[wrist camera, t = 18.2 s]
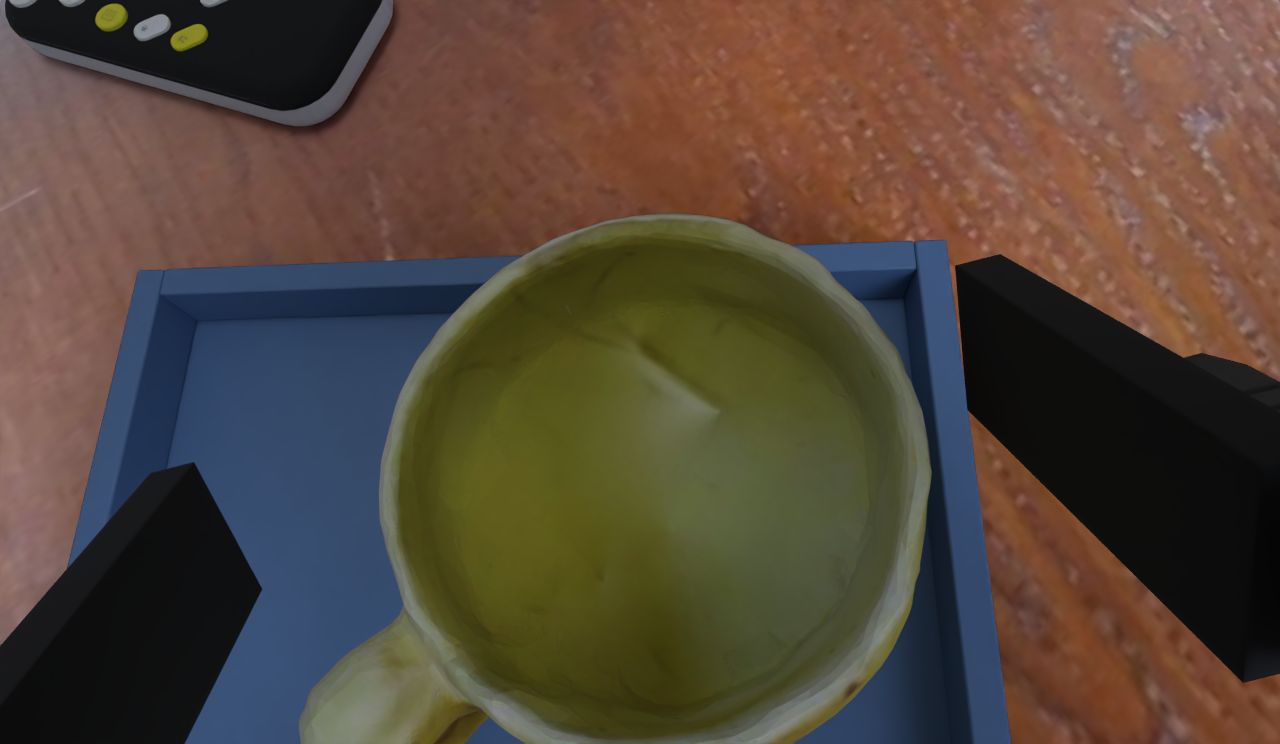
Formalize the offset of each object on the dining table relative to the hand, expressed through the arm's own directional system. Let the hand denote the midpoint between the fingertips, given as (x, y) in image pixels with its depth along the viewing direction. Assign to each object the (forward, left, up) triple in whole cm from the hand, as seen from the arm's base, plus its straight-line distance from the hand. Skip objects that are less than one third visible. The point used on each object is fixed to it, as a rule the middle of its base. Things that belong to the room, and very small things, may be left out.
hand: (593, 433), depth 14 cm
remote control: (+15, -17, -8) cm, 24 cm away
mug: (0, +1, -8) cm, 8 cm away
